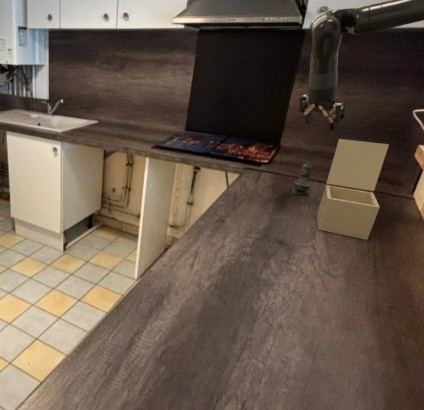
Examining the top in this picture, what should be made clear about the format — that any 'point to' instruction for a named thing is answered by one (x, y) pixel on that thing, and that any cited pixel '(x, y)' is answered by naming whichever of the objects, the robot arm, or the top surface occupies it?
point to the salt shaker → (303, 180)
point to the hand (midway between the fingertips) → (320, 127)
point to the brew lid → (357, 164)
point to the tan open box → (347, 211)
